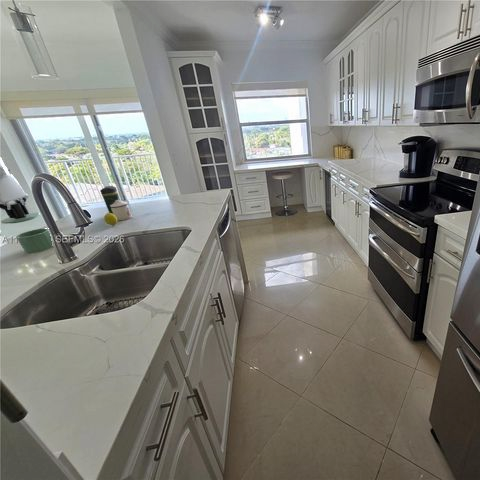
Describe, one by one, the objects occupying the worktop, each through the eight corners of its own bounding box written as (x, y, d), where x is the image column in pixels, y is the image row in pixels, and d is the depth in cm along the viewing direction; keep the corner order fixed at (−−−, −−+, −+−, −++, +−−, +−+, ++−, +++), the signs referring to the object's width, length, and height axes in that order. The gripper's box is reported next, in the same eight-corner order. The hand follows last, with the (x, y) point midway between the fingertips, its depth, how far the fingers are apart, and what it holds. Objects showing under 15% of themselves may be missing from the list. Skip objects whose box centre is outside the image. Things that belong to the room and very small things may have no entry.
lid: (-4, 227, 104) (-15, 210, 101) (10, 219, 113) (0, 203, 110) (34, 220, 109) (25, 204, 106) (44, 213, 118) (36, 198, 115)
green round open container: (21, 256, 118) (11, 239, 114) (31, 247, 127) (21, 231, 123) (53, 249, 123) (44, 233, 119) (60, 241, 132) (51, 226, 128)
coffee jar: (124, 215, 166) (113, 187, 158) (109, 218, 163) (97, 189, 155) (126, 211, 174) (116, 184, 166) (112, 213, 171) (101, 186, 163)
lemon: (110, 224, 151) (104, 212, 147) (120, 223, 152) (115, 210, 149) (106, 228, 146) (100, 215, 143) (117, 226, 147) (111, 213, 144)
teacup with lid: (133, 218, 160) (126, 200, 155) (115, 221, 155) (107, 203, 150) (132, 213, 169) (125, 196, 164) (115, 216, 164) (108, 199, 159)
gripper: (8, 169, 110) (31, 210, 118) (-41, 177, 95) (-12, 223, 103) (25, 168, 110) (47, 209, 118) (-22, 176, 95) (6, 222, 103)
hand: (19, 215), depth 110 cm, fingers closed on lid, 3 cm apart
